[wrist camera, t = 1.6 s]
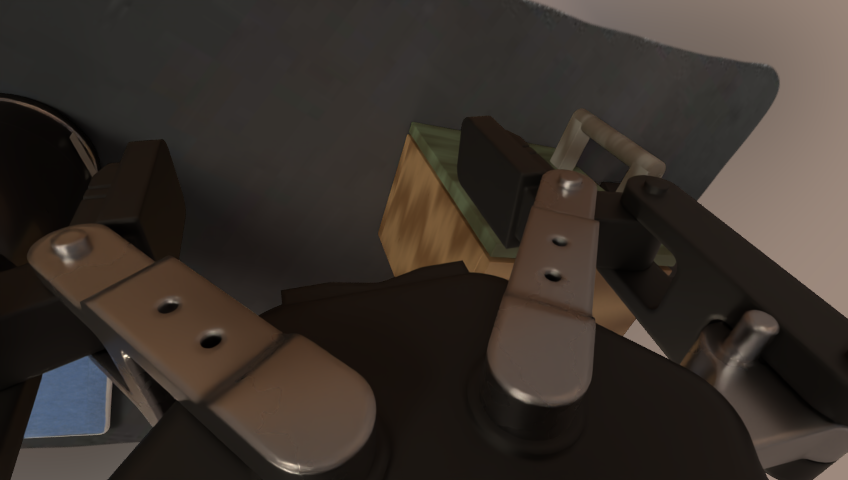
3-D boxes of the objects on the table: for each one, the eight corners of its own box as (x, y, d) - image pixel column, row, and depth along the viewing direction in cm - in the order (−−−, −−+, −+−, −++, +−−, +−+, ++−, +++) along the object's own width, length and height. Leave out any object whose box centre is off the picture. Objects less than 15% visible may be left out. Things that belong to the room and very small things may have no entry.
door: (429, 60, 37) (535, 163, 24) (580, 97, 43) (728, 194, 30) (408, 132, 40) (490, 257, 27) (551, 156, 47) (673, 267, 34)
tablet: (110, 426, 51) (108, 437, 50) (-40, 433, 45) (-46, 445, 44) (119, 302, 42) (116, 312, 41) (-69, 291, 36) (-78, 302, 35)
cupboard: (407, 133, 40) (489, 262, 27) (549, 158, 47) (672, 270, 34) (377, 233, 46) (433, 380, 33) (508, 242, 53) (599, 367, 39)
